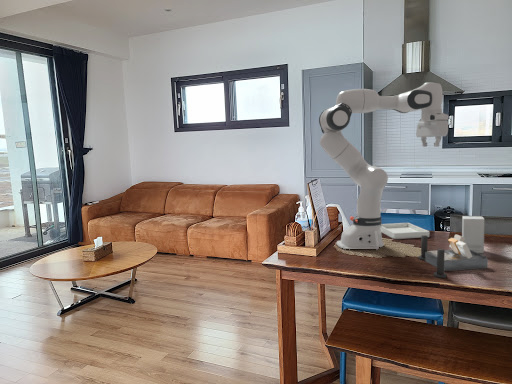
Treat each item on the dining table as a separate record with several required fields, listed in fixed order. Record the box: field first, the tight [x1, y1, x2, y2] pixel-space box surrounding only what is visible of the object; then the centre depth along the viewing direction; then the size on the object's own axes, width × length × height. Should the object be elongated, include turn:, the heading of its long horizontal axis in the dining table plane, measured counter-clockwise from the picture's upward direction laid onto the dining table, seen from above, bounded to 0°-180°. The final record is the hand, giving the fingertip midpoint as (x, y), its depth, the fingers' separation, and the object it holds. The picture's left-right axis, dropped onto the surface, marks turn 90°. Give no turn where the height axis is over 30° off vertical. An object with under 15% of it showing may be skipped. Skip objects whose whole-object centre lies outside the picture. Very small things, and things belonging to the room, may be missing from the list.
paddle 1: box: [448, 234, 465, 249], centre depth 153 cm, size 2×4×6 cm, turn 5°
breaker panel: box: [424, 249, 489, 272], centre depth 148 cm, size 18×13×5 cm
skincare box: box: [461, 215, 485, 254], centre depth 164 cm, size 8×7×16 cm
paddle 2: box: [456, 241, 472, 259], centre depth 142 cm, size 2×4×6 cm, turn 5°
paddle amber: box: [447, 237, 461, 255], centre depth 147 cm, size 2×4×6 cm, turn 5°
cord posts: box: [417, 235, 448, 279], centre depth 146 cm, size 4×25×10 cm, turn 171°
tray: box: [381, 222, 430, 240], centre depth 201 cm, size 19×22×3 cm
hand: (430, 146), depth 176 cm, fingers open, 8 cm apart
